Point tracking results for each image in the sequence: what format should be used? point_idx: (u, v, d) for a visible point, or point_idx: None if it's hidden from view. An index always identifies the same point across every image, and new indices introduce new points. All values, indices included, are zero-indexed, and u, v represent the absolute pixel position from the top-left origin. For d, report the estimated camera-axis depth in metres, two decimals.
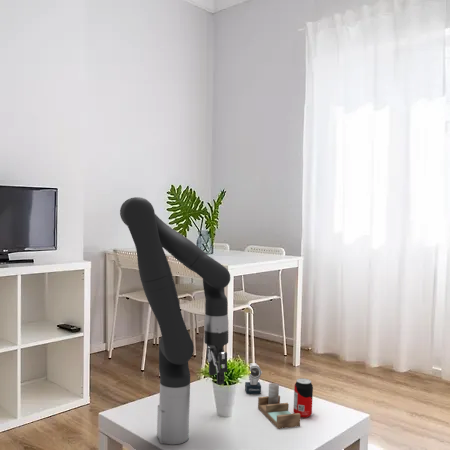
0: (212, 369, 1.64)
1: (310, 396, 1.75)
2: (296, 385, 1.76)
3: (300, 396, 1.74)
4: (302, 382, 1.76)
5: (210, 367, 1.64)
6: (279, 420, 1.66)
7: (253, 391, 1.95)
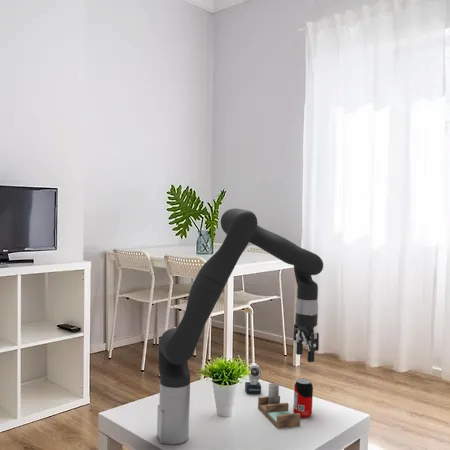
0: (299, 349, 1.80)
1: (310, 396, 1.75)
2: (296, 385, 1.76)
3: (300, 396, 1.74)
4: (302, 382, 1.76)
5: (298, 347, 1.80)
6: (279, 420, 1.66)
7: (253, 391, 1.95)
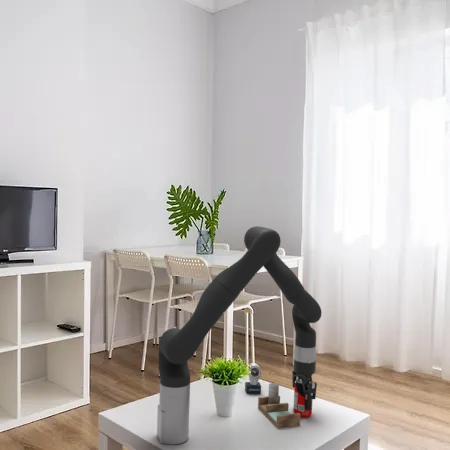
0: None
1: None
2: (296, 385, 1.76)
3: (300, 396, 1.74)
4: None
5: None
6: (279, 420, 1.66)
7: (253, 391, 1.95)
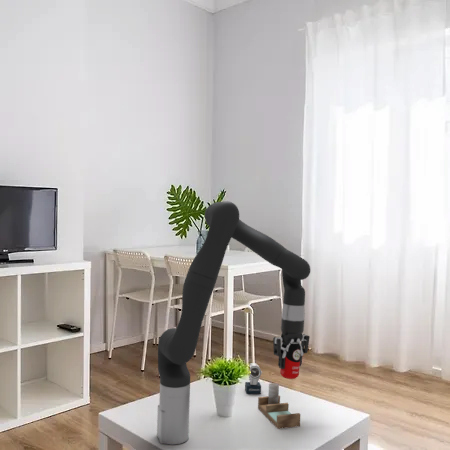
0: None
1: (286, 356, 1.68)
2: None
3: None
4: None
5: None
6: (279, 420, 1.66)
7: (253, 391, 1.95)
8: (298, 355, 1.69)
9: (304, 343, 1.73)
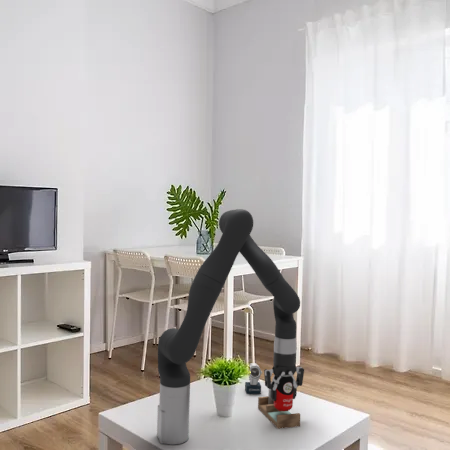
0: None
1: (277, 388, 1.69)
2: None
3: None
4: None
5: None
6: (279, 420, 1.66)
7: (253, 391, 1.95)
8: (289, 388, 1.69)
9: (299, 375, 1.73)
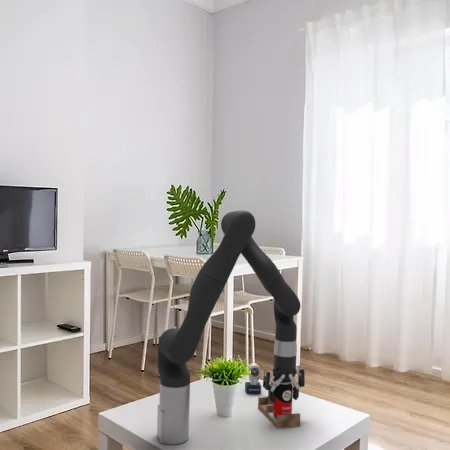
0: (294, 393, 1.73)
1: (276, 396, 1.69)
2: None
3: None
4: None
5: (293, 390, 1.73)
6: (279, 420, 1.66)
7: (253, 391, 1.95)
8: (288, 396, 1.69)
9: (300, 377, 1.73)
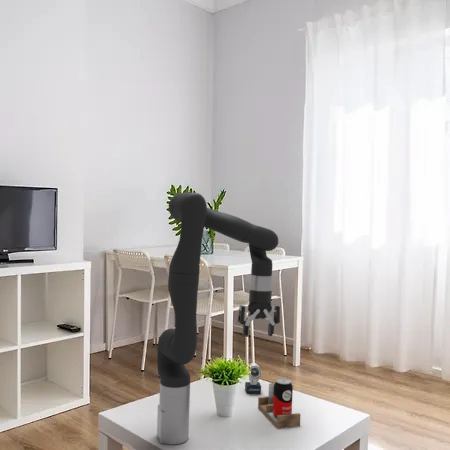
0: (269, 330, 1.75)
1: (276, 396, 1.69)
2: None
3: None
4: (278, 380, 1.72)
5: (268, 327, 1.75)
6: (279, 420, 1.66)
7: (253, 391, 1.95)
8: (288, 396, 1.69)
9: (275, 313, 1.74)
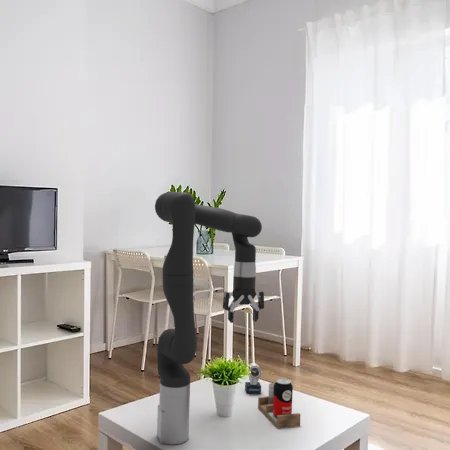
0: (253, 315, 1.76)
1: (276, 396, 1.69)
2: None
3: None
4: (278, 380, 1.72)
5: (253, 313, 1.77)
6: (279, 420, 1.66)
7: (253, 391, 1.95)
8: (288, 396, 1.69)
9: (259, 299, 1.76)
